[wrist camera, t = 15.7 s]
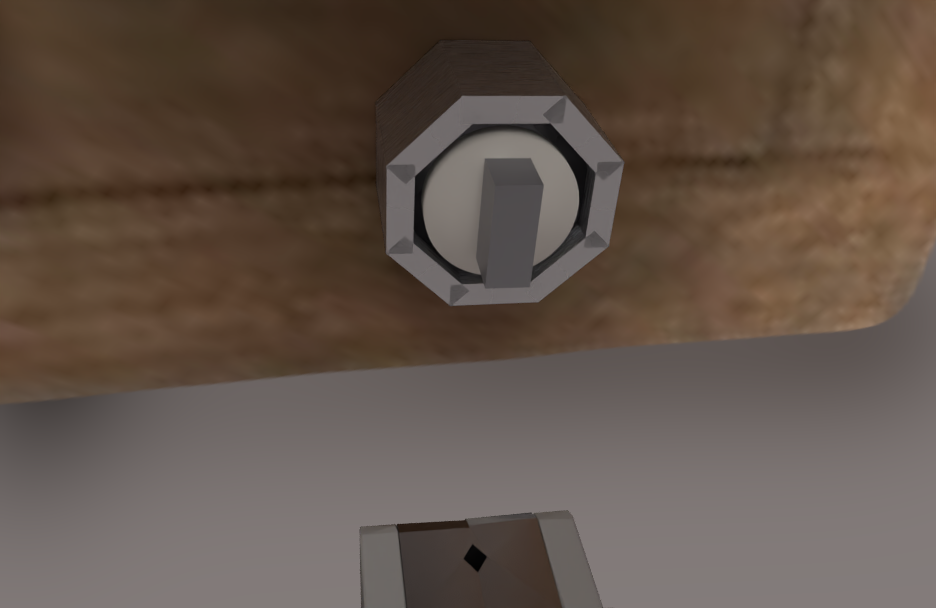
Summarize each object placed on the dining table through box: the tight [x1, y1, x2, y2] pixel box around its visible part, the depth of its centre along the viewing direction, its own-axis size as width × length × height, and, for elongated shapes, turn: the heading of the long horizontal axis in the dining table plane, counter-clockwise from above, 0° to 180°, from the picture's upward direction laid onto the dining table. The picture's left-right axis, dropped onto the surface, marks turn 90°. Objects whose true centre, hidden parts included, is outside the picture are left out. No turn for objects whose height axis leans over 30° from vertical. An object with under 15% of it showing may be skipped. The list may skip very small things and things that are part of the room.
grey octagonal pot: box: [375, 40, 624, 306], centre depth 39 cm, size 10×10×7 cm
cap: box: [421, 125, 579, 289], centre depth 36 cm, size 7×7×4 cm
